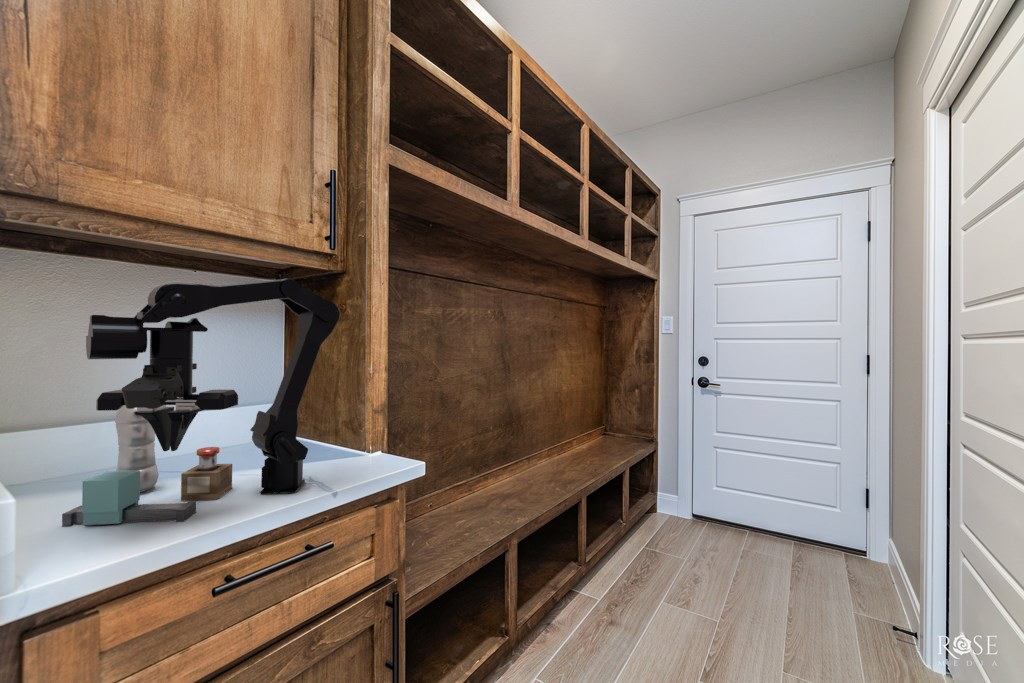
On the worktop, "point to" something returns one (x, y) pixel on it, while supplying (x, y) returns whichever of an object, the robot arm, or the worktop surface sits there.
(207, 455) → the button
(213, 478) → the brown button housing
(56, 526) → the worktop surface
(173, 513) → the rail
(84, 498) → the carriage
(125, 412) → the plastic bottle
